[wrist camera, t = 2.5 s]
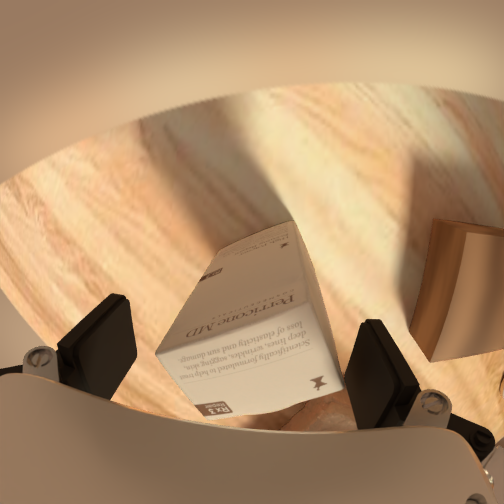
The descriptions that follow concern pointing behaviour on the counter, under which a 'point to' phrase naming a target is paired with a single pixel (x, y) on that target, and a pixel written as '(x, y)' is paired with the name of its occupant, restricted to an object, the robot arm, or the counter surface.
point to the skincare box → (254, 330)
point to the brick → (324, 414)
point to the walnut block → (461, 292)
